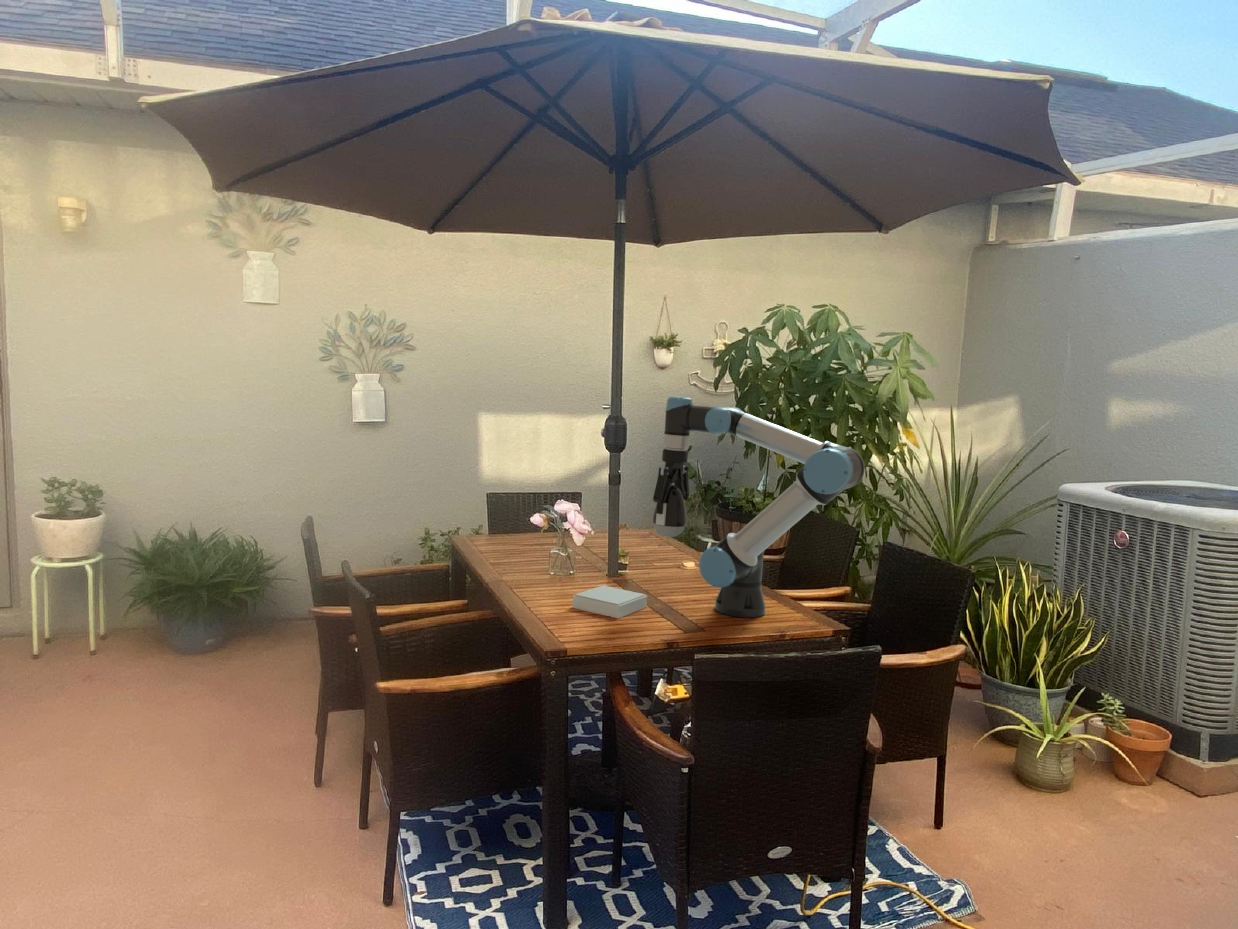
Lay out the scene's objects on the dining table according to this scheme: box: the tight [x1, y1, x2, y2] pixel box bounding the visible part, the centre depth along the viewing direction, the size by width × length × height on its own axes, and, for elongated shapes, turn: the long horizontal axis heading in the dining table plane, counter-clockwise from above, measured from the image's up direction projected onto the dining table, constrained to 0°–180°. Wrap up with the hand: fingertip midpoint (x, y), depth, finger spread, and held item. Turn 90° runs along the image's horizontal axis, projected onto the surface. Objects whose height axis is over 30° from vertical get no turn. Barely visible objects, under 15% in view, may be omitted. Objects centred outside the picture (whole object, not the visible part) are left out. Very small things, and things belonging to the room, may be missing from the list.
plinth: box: [572, 585, 648, 619], centre depth 248 cm, size 16×16×4 cm
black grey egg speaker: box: [651, 484, 687, 538], centre depth 249 cm, size 10×10×15 cm
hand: (669, 522), depth 249 cm, fingers closed on black grey egg speaker, 10 cm apart
